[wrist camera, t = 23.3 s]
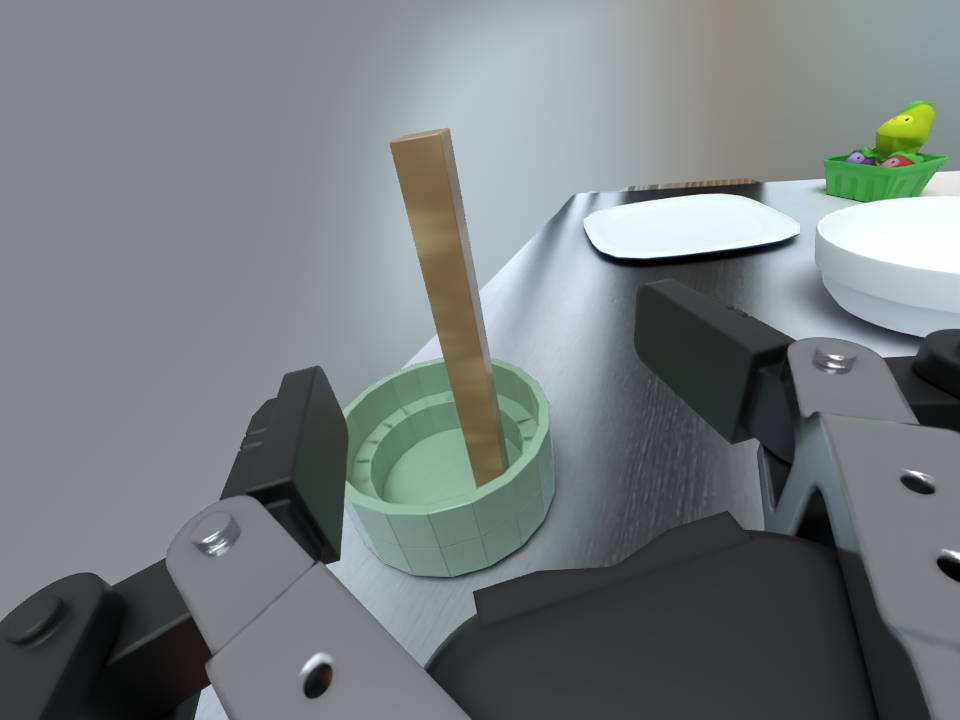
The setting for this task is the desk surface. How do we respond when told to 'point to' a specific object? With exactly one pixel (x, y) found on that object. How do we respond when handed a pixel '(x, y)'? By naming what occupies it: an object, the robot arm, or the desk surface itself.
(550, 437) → the mixing bowl
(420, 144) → the stirring stick
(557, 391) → the desk surface
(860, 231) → the bowl
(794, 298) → the desk surface
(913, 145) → the fruit basket
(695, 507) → the desk surface
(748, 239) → the plate
